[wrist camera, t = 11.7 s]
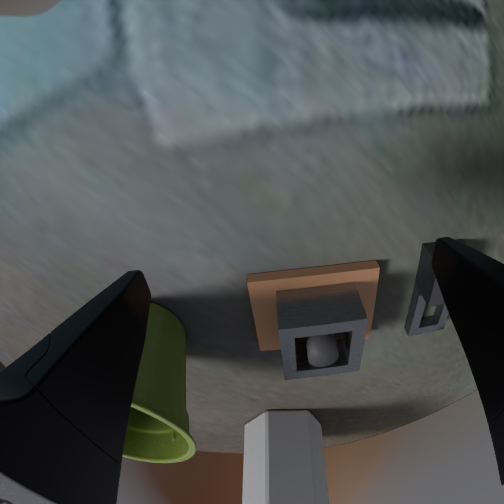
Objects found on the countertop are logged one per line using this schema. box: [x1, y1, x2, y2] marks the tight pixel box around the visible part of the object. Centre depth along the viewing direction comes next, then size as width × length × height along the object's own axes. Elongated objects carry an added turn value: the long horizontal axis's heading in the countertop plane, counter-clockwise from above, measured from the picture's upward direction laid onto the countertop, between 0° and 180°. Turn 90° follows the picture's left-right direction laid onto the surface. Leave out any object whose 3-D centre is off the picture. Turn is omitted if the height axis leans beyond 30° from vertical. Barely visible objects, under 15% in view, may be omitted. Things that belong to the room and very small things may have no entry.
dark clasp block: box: [404, 239, 466, 336], centre depth 23 cm, size 4×10×3 cm, turn 8°
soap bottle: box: [242, 410, 329, 504], centre depth 29 cm, size 10×9×22 cm
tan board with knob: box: [247, 260, 380, 367], centre depth 23 cm, size 10×8×6 cm
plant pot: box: [123, 303, 196, 463], centre depth 23 cm, size 12×12×11 cm
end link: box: [276, 282, 368, 380], centre depth 23 cm, size 6×6×4 cm
